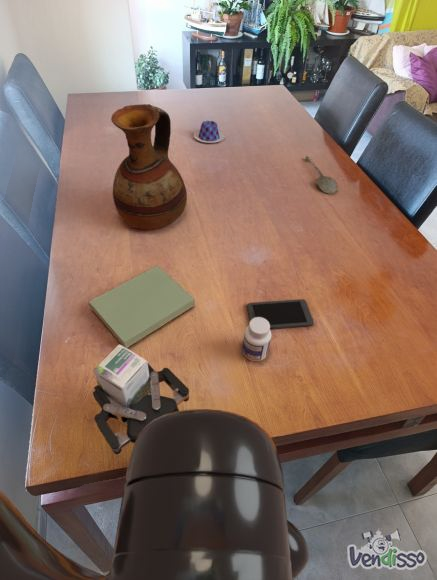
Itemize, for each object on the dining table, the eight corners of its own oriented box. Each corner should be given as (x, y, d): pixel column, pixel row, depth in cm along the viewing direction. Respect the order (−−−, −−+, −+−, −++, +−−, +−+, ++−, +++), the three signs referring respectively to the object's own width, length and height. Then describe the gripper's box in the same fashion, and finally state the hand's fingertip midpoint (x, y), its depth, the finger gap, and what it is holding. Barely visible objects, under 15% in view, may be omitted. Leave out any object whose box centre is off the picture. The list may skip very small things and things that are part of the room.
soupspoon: (319, 196, 119) (338, 195, 120) (323, 187, 116) (342, 186, 117) (298, 159, 133) (315, 159, 134) (301, 150, 130) (318, 150, 131)
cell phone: (314, 325, 82) (315, 323, 81) (252, 330, 80) (252, 328, 80) (304, 300, 87) (305, 298, 86) (246, 305, 85) (246, 302, 85)
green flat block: (126, 351, 76) (124, 342, 73) (91, 310, 82) (88, 301, 80) (194, 307, 84) (194, 298, 82) (158, 273, 91) (157, 265, 89)
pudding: (220, 146, 137) (221, 132, 133) (189, 141, 139) (189, 127, 135) (227, 132, 145) (228, 119, 141) (198, 128, 147) (198, 114, 143)
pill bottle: (255, 336, 79) (260, 309, 73) (272, 352, 77) (279, 326, 70) (236, 349, 77) (240, 323, 71) (254, 366, 74) (259, 341, 68)
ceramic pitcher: (102, 223, 104) (77, 112, 82) (142, 188, 116) (130, 84, 94) (164, 244, 99) (154, 132, 77) (198, 205, 111) (199, 100, 89)
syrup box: (129, 387, 68) (117, 341, 58) (155, 404, 66) (147, 359, 56) (107, 412, 65) (90, 368, 54) (134, 430, 63) (121, 388, 52)
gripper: (219, 410, 53) (152, 338, 61) (133, 482, 46) (70, 389, 54) (217, 432, 59) (155, 362, 67) (140, 498, 52) (81, 412, 60)
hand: (117, 375), depth 61 cm, fingers closed on syrup box, 7 cm apart
